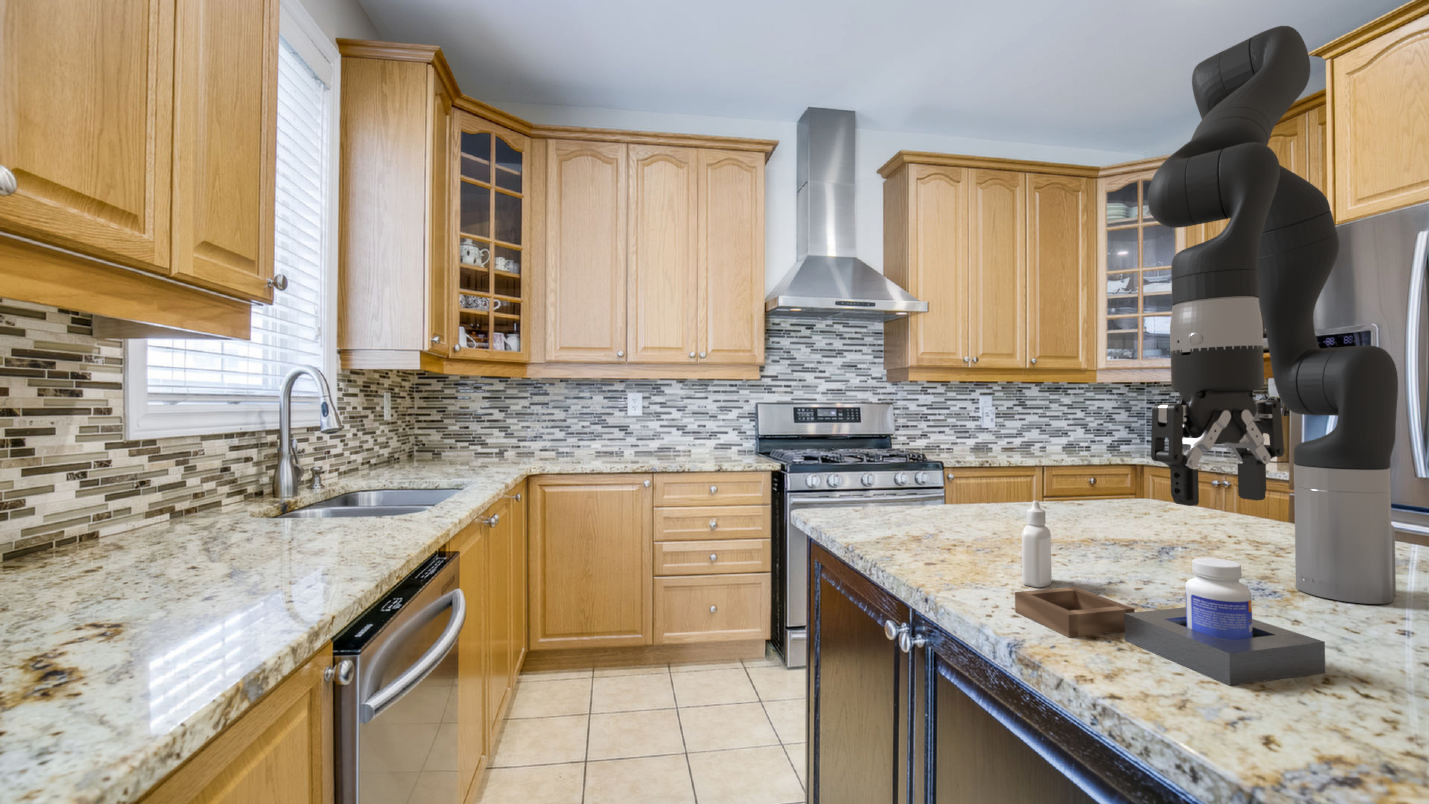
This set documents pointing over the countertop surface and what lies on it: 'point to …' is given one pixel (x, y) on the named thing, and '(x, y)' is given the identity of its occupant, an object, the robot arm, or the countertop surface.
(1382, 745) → the countertop surface
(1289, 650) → the steel block
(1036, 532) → the eye dropper bottle
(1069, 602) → the walnut stand
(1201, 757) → the countertop surface
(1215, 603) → the pill bottle
